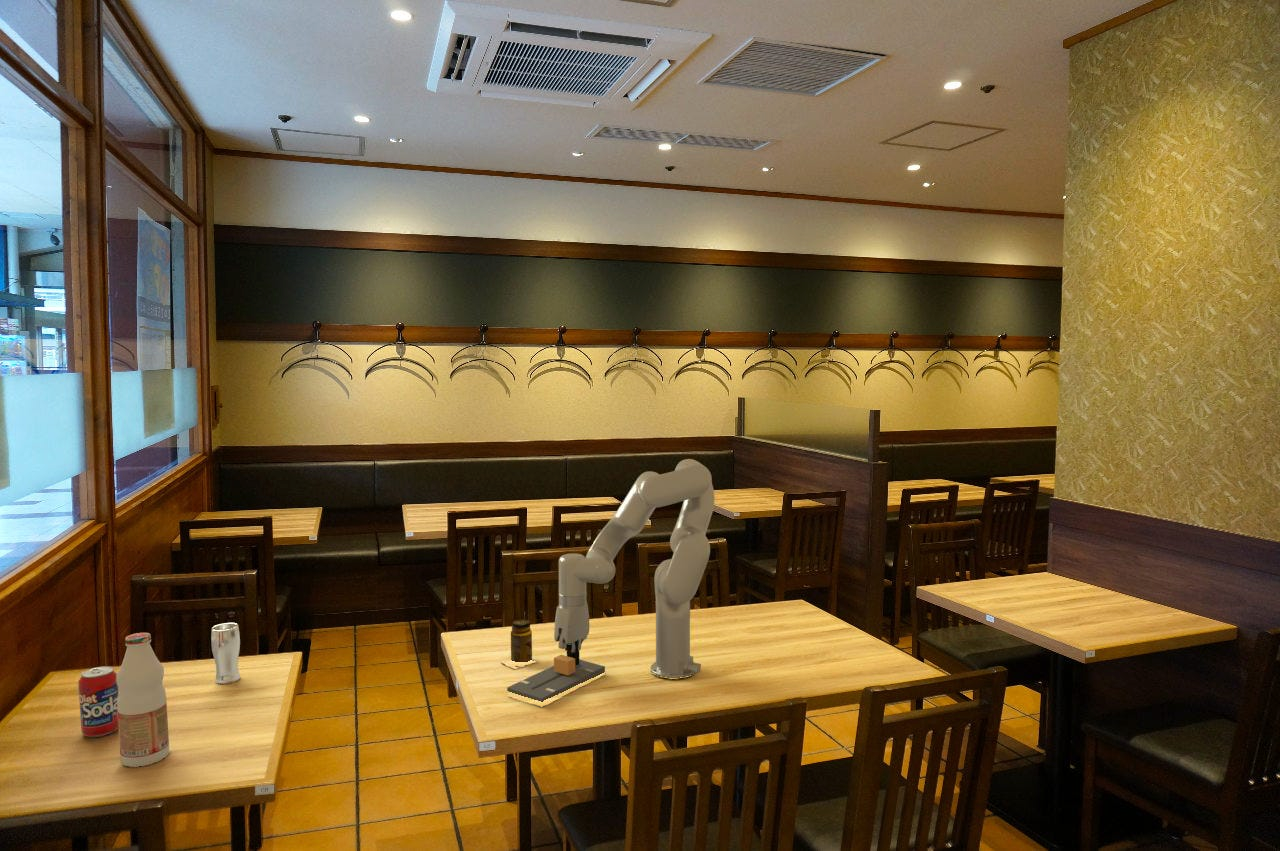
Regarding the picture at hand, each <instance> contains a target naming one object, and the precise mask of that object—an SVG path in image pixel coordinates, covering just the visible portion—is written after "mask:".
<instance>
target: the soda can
mask: <svg viewBox="0 0 1280 851" xmlns="http://www.w3.org/2000/svg"><path fill="white" fill-rule="evenodd" d="M116 675H117V672H116V671H115V669H114V667H113V666H110V665H109V666H108V665H104V666H97V667H91V668H89V669H86V670H84V671H82V672H81V676H80V677H79V679H78V681H77V684H78V686H77V687H78V688H77V689H78V699H79V702H78V703H79V713H80V714H79V715H80V727H81V734H82V735H83V736H86V737H89V738H99V737H100V738H101V737H106V736H108V735H110V734H112V733H114V732H115V731H116V730H119V727H118V712H117V699H118V695H119V688H118V686H117V682H116Z"/></svg>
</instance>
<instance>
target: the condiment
mask: <svg viewBox="0 0 1280 851" xmlns="http://www.w3.org/2000/svg"><path fill="white" fill-rule="evenodd" d="M532 638H533V632H532V630H531V622H530V621H529V620H528V619H516V620H513V621H512V624H511V631H510V659H511V660H512V661H515V662H528V661H530V660H533V639H532Z"/></svg>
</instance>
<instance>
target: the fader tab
mask: <svg viewBox="0 0 1280 851" xmlns="http://www.w3.org/2000/svg"><path fill="white" fill-rule="evenodd" d="M553 666H554V672H558V673H561V674H564V675H570V674H572V673H574V672H575V658H572V657H568V656H567V655H564V654H560V655H558V656H555V657H553Z"/></svg>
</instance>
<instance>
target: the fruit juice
mask: <svg viewBox="0 0 1280 851" xmlns="http://www.w3.org/2000/svg"><path fill="white" fill-rule="evenodd" d="M151 642H152V635H151V633H149V632H136V633H133V634H129V635H127V636H126V637H125V638H124V643H125V646H126V651H125V653H124V657H123V659H122V664H121V665H120V667H119V668H118V670H117V672H116V673H117V675H116V682H117V686H118V690H119V695H118V699H117V712H118V727H119V728H118V739H119V740H118V741H119V755H120V762H121V764H122V765H123V766H124V765H125V767H127V766H129V768H140V767H139V766H142V767H146V766H145V765H147V766H149V764H150V765H154V764H156V763H158V762H161V761H162V760H163V758H164V759H165V758H166V757H167V756H168V754H169V752H170V737H169V723H168V722H169V721H168V705H167V701H168V700H167V692H166V689H165V686H164V685H163V681H164V676H165V670H164V666H163V664H162V662H160V660H159V659H158V657H157V656H156V654H155V651H154V650H153V648H152V646H151ZM155 762H156V763H155ZM153 763H154V764H153Z"/></svg>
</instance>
